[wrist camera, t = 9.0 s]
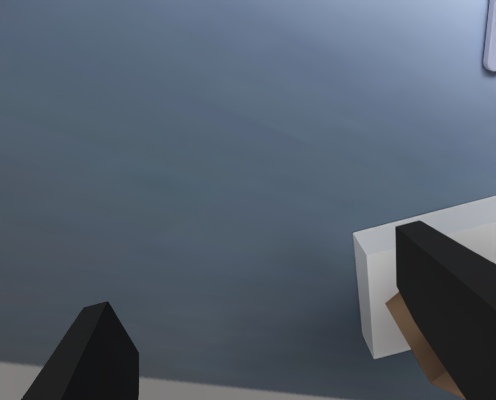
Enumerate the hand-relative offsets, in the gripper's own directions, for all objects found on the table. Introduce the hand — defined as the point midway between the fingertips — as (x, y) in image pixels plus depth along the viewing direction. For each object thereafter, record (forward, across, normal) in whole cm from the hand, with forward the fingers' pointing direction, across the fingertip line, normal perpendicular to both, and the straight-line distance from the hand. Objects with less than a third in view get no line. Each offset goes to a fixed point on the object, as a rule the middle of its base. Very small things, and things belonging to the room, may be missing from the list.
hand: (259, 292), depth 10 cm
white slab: (+10, -10, +12) cm, 18 cm away
